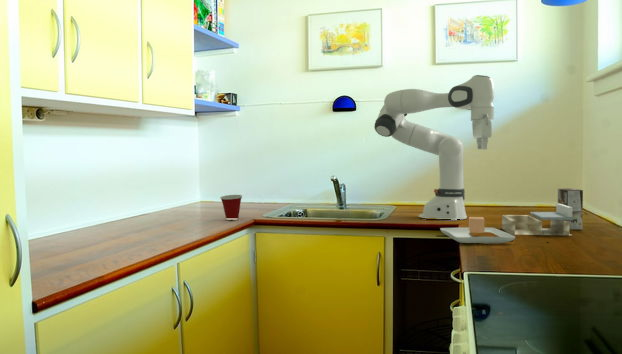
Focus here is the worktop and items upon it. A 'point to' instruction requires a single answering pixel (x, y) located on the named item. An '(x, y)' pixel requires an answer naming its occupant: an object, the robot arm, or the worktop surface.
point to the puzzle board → (533, 226)
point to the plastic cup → (231, 205)
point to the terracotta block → (476, 224)
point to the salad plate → (465, 237)
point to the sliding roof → (555, 213)
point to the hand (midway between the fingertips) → (481, 149)
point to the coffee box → (573, 205)
